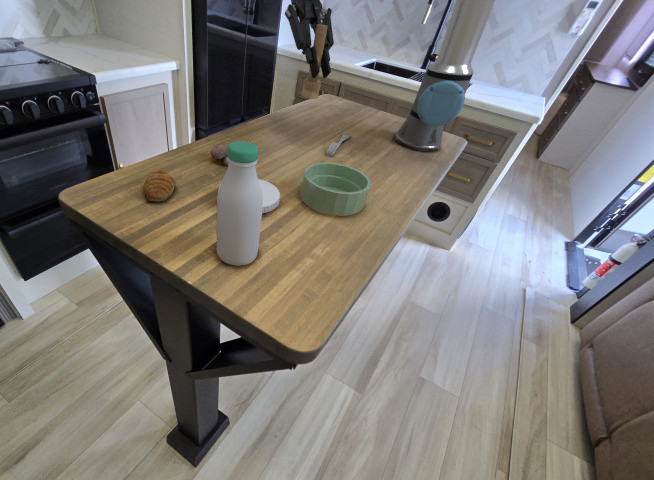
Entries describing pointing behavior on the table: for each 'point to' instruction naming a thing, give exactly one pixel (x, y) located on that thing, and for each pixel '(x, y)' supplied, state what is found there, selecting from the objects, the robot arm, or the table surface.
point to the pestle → (313, 84)
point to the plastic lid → (269, 196)
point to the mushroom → (220, 152)
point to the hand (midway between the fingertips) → (321, 74)
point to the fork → (337, 144)
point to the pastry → (159, 185)
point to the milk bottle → (239, 206)
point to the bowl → (334, 188)
